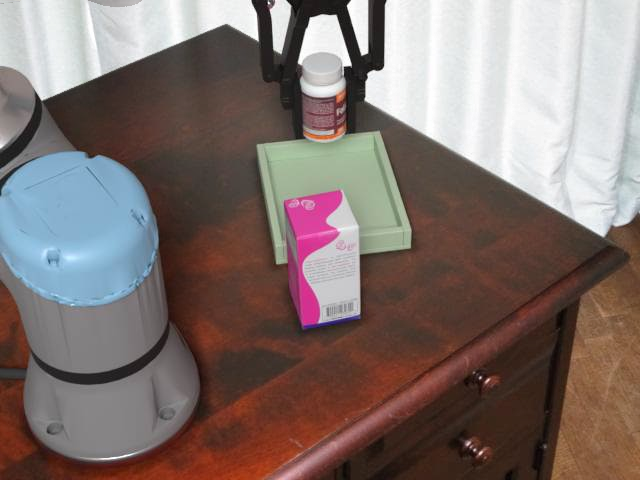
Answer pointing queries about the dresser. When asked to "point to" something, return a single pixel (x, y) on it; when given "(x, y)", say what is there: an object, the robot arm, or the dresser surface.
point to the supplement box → (323, 259)
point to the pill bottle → (323, 97)
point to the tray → (336, 187)
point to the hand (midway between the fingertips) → (323, 128)
